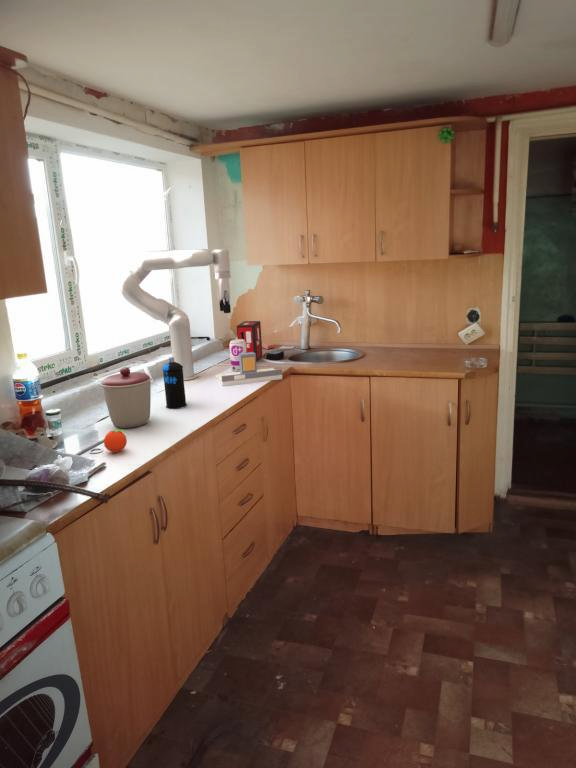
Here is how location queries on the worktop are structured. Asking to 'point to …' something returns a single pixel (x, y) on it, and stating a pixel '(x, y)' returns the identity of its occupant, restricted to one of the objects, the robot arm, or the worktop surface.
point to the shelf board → (249, 377)
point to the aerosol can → (174, 385)
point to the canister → (128, 398)
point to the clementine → (115, 441)
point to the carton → (247, 362)
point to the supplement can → (236, 353)
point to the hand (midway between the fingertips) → (225, 311)
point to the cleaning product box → (251, 337)
